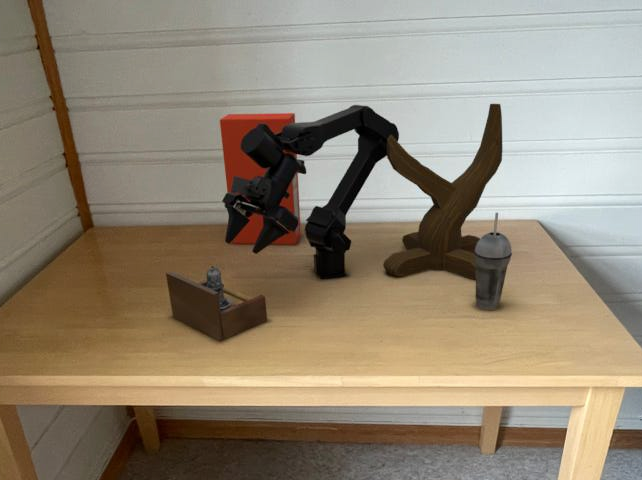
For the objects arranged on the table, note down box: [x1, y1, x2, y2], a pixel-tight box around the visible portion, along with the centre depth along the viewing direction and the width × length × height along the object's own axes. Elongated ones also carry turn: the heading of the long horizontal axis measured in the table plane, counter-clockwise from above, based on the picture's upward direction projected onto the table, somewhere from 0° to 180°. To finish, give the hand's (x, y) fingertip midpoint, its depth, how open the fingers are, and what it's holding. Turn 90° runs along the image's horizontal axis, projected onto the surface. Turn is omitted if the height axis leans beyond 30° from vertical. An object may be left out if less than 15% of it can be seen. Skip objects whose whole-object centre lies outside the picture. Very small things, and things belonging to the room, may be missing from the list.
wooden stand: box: [382, 103, 503, 280], centre depth 145 cm, size 29×29×35 cm
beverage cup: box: [474, 211, 513, 311], centre depth 127 cm, size 7×7×20 cm
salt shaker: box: [205, 264, 232, 311], centre depth 129 cm, size 6×6×12 cm
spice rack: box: [165, 270, 268, 343], centre depth 130 cm, size 12×16×10 cm
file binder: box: [219, 112, 302, 246], centre depth 166 cm, size 8×17×32 cm, turn 80°
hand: (240, 247), depth 130 cm, fingers open, 9 cm apart
